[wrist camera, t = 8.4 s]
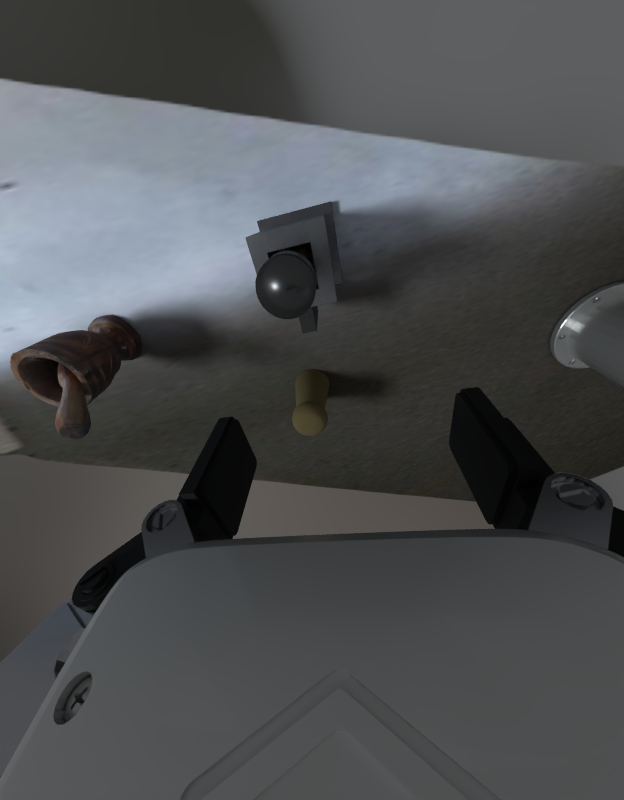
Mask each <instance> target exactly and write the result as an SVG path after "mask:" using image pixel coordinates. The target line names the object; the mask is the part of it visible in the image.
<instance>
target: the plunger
mask: <svg viewBox="0 0 624 800" xmlns="http://www.w3.org/2000/svg"><path fill="white" fill-rule="evenodd" d="M312 262H313V254H312V251H311V249H310V248H309V247H308V246H307V245H305V244H300V245H296V246H292V247H291V248H290V249H289V251H281V252H278V253H276V254H274V255H273V256H272V257H271V258H269V259H268V260H267V261H266V262H265V263H264V264H263V265H262V267H261V268H260V270H259V272H258V274H257V278H256V293H257V296H258V299H259V301H260V303H261V304H262V306H263V307H264V308H265V309H266V310H267V311H268V312H269V313H270V314H272V315H274V316H276V317H278V318H282V319H293V318H297V317H299V316H301V315H303V314H304V313H305V312H307V311H308V310H309V308H310V307H311V305H312V303H313V301H314V298H315V293H316V274H315V271H314V268H313V266H312Z"/></svg>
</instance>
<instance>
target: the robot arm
mask: <svg viewBox="0 0 624 800" xmlns="http://www.w3.org/2000/svg"><path fill="white" fill-rule="evenodd" d="M550 350H551V353H552V355H553V357H554V358H555V359H556V360H557V361H559V362H560V363H562V364H563V365H565V366H567V367H572V368H588V367H591V368H593V369H594V370H596V371H598V372H599V373H601V374H603V375H604V376H606V377H608V378H609V379H611V380H613V381H614V382H616V383H617V384H619V385H621V386H622V387H624V281H621V282H616V283H612V284H609V285H606V286H604V287H601V288H599V289H597V290H595V291H593V292H591V293H590V294H588V295H587V296H585V297H583V298H582V299H581V300H579V301H578V302H577V303H576V304H574V305H573V306H572V307H571V308H570V309H569V310H568V311H567V312H566V313H565V314H564V315H563V317H562V318H561V319H560V321H559V322H558V324H557V325H556V327H555V329H554V331H553V334H552V336H551V341H550ZM449 445H450V449H451V451H452V453H453V455H454V457H455V459H456V461H457V463H458V465H459V467H460V469H461V471H462V473H463V475H464V477H465V479H466V481H467V483H468V485H469V487H470V489H471V491H472V493H473V495H474V497H475V500H476V502H477V504H478V506H479V508H480V510H481V512H482V514H483V516H484V518H485V520H486V521H487V523H488V524H493V526H494V528H495V529H469V530H467V529H466V530H430V531H406V532H405V531H404V532H376V533H353V534H328V535H304V536H285V537H262V538H243V539H232V538H233V536H235V535H236V534H237V532H238V528H239V525H240V522H241V518H242V515H243V511H244V508H245V504H246V501H247V497H248V494H249V490H250V487H251V483H252V480H253V476H254V473H255V470H256V466H257V461H256V458H255V455H254V453H253V451H252V449H251V447H250V445H249V442H248V440H247V438H246V436H245V434H244V432H243V429H242V427H241V425H240V423H239V421H238V420H237V419H234V417H225V418H220V419H219V420H218V422H217V423H216V425H215V427H214V429H213V431H212V433H211V435H210V437H209V439H208V440H207V442H206V444H205V446H204V448H203V450H202V452H201V454H200V456H199V457H198V459H197V461H196V463H195V465H194V467H193V469H192V471H191V472H190V474H189V476H188V478H187V480H186V482H185V484H184V486H183V488H182V489H181V491H180V493H179V497H178V499H177V500H168V501H164V502H163V503H160V504H158V505H157V506H156V507H154V508H153V509H152V510H151V511H150V512H149V513H148V514H147V516H146V517H145V519H144V520H143V523H142V528H141V531H142V532H141V533H139V534H138V535H137V536H135V537H134V538H132V539H131V540H130V541H128V542H127V543H125V544H124V545H122V546H121V547H120V548H118V549H117V550H115V551H114V552H113V553H112V554H110V555H108V556H107V557H106V558H104V559H103V560H101V561H100V562H99V563H97V564H96V565H94V566H93V567H92V568H91V569H89V570H88V571H87V572H86V573H85V574H84V576H83V577H82V578H81V579H80V581H79V582H78V584H77V585H76V587H75V589H74V592H73V595H72V600H71V601H70V602H69V603H67V602H65V601H64V602H63V603H62V604H61V605H60V606H59V607H58V608H57V609H56V610H55V611H54V612H53V613H52V614H51V615H50V616H49V617H48V618H47V619H45V620H44V621H43V622H42V623H41V624H40V625H39V626H38V627H37V628H36V629H35V630H34V631H33V632H32V633H31V634H30V635H29V636H28V637H27V638H26V639H25V640H24V641H23V642H22V643H21V644H19V646H18V647H16V648H15V649H14V650H13V651H12V652H11V653H10V654H9V655H8V656H7V657H6V658H5V659H4V660H3V661H2V662H1V663H0V800H624V511H623V510H620V509H618V508H616V507H613V503H612V499H611V498H610V496H609V495H608V493H607V492H606V491H605V490H604V489H603V488H602V487H600V486H599V485H597V484H596V483H594V482H592V481H591V480H589V479H586V478H584V477H582V476H579V475H575V474H571V473H554V471H553V470H552V469H551V468H550V467H549V465H548V464H547V463H546V462H545V461H544V460H543V458H542V457H541V456H540V455H539V454H538V452H537V451H536V450H535V449H534V448H533V447H532V445H531V444H530V443H529V442H528V441H527V439H526V438H525V437H524V436H523V435H522V433H521V432H520V431H519V430H518V429H517V428H516V426H515V425H514V424H513V423H512V422H511V421H510V420H509V419H508V418H504V417H503V416H502V415H501V414H500V412H499V411H498V410H497V409H496V408H495V406H494V405H493V404H492V403H491V401H490V400H489V399H488V398H487V397H486V395H485V394H484V393H483V392H482V391H481V389H480V388H478V387H474V388H466V389H461V391H460V393H457V394H456V396H455V403H454V410H453V417H452V424H451V431H450V439H449Z"/></svg>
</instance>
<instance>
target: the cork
mask: <svg viewBox="0 0 624 800" xmlns="http://www.w3.org/2000/svg"><path fill="white" fill-rule="evenodd" d="M328 390H329V380H328V378H327V376H326V375H325V374H324V373H323V372H321V371H319V370H314V369H310V370H305V371H303V372H301V373H300V374H299V375H298V376H297V378H296V380H295V392H296V405H297V407H296V409H295V410H294V412H293V416H292V421H293V426H294V427H295V429H296V430H297V431H298V432H300V433H301V434H304V435H308V436H311V435H316V434H319V433H320V432H322V431H323V430H324V429H325V427H326V425H327V421H328V417H327V412H326V410H325V404H326V400H327V395H328Z"/></svg>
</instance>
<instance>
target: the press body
mask: <svg viewBox="0 0 624 800" xmlns="http://www.w3.org/2000/svg"><path fill="white" fill-rule="evenodd" d="M257 223H258V226H259V230H260V232H258V233H256V234H253V235H251V236H248V237H246V241H247V244H248V247H249V251H250V254H251V257H252V260H253V264H254V267H255V270H256V273H257V274H258V272H259V270H260V268H261V267H262V265H263V264H264V263H265V262H266V261H267V260H268V259H269V258H271V257H272V256H273V255H274V254H276V253H278V252H281V251H289V249H290V248H291V247H292V246H296V245H300V244H305V245H307V246H308V247H309V248H310V249H311V251H312V254H313V262H312V266H313V268H314V271H315V274H316V293H315V298H314V301H313V303H312V305H311V307H310V308H309V310H308V311H307V312H305V313H304V314H303V315H301V316H299V320H300V323H301V327H302V332H303V333H307V332H312V331H317V320H318V308H317V306H318V305H323V304H328V303H333V302H337V297H336V290H335V285H337V284H342V277H341V270H340V263H339V255H338V248H337V241H336V234H335V226H334V219H333V212H332V205H331V202H328V203H324V204H320V205H316V206H312V207H309V208H305V209H301V210H297V211H294V212H290V213H286V214H282V215H279V216H275V217H271V218H267V219H264V220H260V221H257ZM270 315H272V314H270V313H269V316H270Z"/></svg>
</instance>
